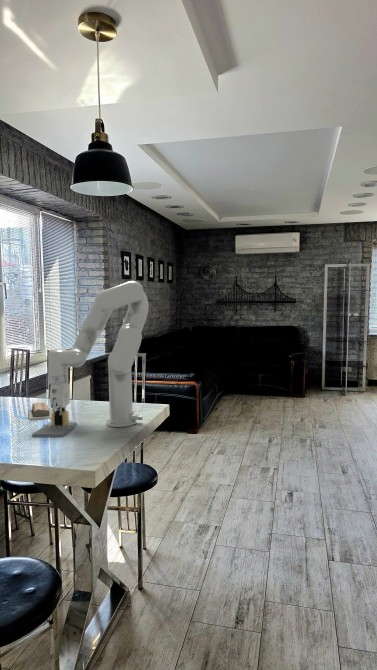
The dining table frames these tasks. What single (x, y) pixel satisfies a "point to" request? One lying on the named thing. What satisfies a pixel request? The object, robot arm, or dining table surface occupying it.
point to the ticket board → (52, 432)
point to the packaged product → (39, 412)
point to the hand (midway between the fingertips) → (60, 423)
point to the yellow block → (65, 421)
